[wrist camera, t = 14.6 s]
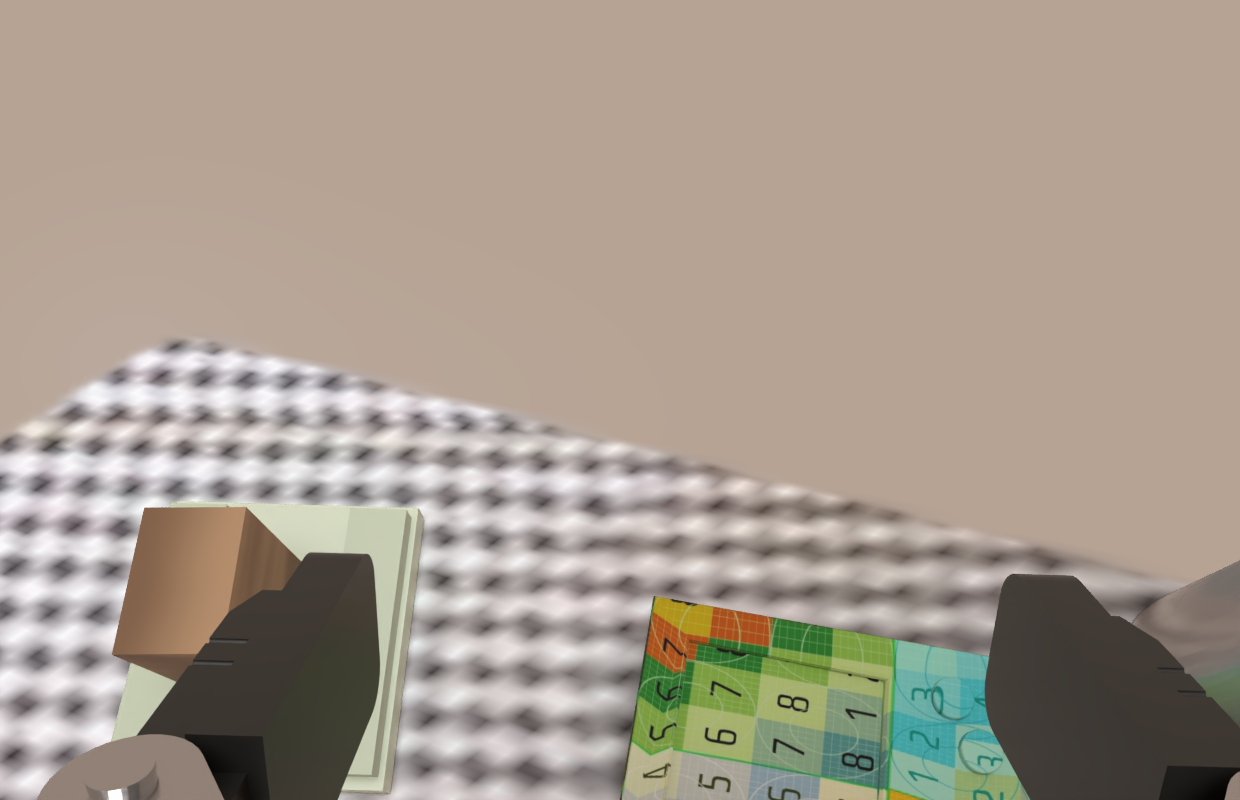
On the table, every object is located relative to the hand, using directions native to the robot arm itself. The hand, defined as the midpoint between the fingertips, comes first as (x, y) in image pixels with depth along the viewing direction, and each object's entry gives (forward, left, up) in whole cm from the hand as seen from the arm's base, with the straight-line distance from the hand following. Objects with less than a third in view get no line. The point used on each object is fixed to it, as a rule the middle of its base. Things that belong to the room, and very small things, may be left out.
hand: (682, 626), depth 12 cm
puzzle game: (-10, 0, -31) cm, 33 cm away
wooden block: (+15, -5, -29) cm, 33 cm away
